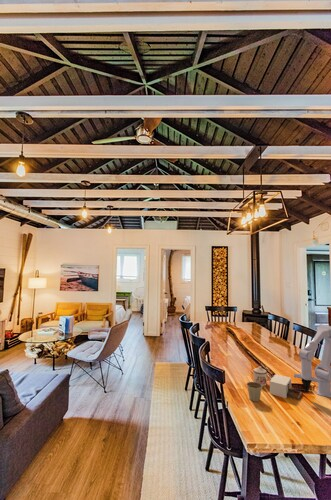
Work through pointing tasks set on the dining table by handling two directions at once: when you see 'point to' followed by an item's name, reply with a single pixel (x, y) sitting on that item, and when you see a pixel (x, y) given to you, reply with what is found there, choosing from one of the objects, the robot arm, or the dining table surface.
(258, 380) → the teacup with lid
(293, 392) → the tray
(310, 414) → the dining table surface
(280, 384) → the grey rectangular block
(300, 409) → the dining table surface
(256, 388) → the flower pot
